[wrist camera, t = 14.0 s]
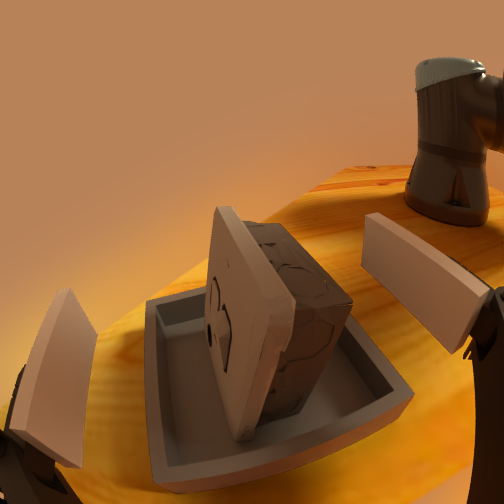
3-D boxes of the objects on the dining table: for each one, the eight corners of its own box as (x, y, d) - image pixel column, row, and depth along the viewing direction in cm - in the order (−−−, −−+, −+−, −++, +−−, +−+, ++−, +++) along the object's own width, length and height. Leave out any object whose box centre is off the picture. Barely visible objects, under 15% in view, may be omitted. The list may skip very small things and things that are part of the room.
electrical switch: (204, 331, 19) (184, 207, 15) (272, 317, 20) (273, 196, 16) (235, 448, 11) (207, 326, 7) (327, 420, 12) (375, 286, 8)
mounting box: (304, 289, 23) (303, 259, 22) (397, 418, 12) (415, 393, 10) (158, 329, 21) (146, 301, 19) (177, 494, 9) (153, 483, 8)
